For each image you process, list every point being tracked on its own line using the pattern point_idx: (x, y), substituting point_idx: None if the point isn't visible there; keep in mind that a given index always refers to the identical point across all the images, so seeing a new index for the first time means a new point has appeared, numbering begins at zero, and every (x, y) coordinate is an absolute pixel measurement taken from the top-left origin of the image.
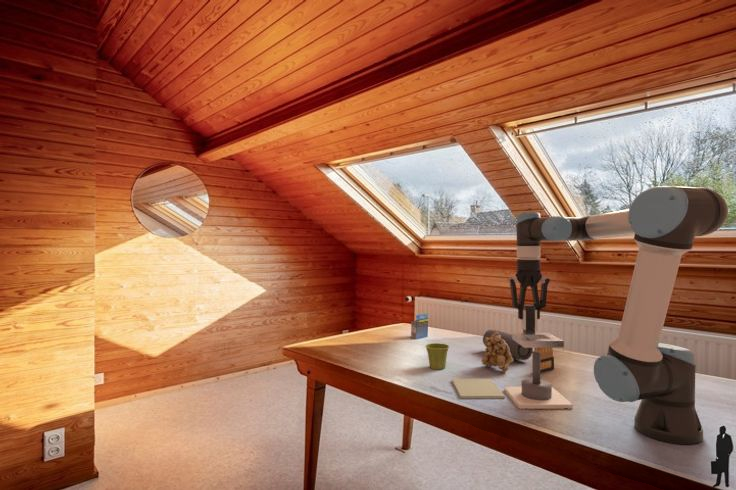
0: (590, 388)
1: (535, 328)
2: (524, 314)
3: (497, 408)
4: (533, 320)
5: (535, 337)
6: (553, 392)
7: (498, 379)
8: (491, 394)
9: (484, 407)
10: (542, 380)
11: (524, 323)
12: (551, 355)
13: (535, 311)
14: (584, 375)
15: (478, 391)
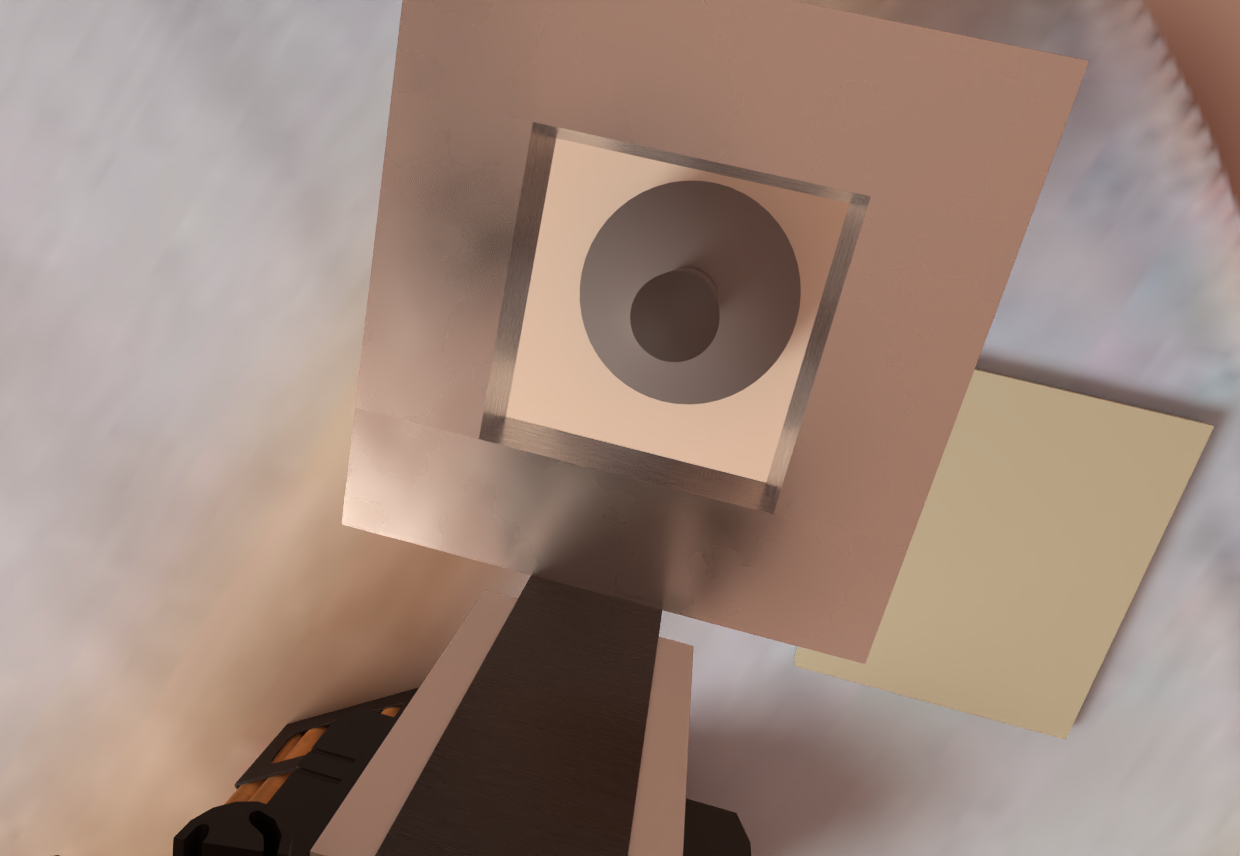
0: (255, 376)
1: (504, 607)
2: (659, 850)
3: (1060, 189)
4: (497, 694)
5: (600, 456)
6: (549, 311)
7: (727, 670)
8: (974, 398)
9: (1140, 227)
10: (603, 346)
11: (674, 706)
12: (246, 791)
13: (370, 832)
14: (168, 584)
15: (1031, 473)
